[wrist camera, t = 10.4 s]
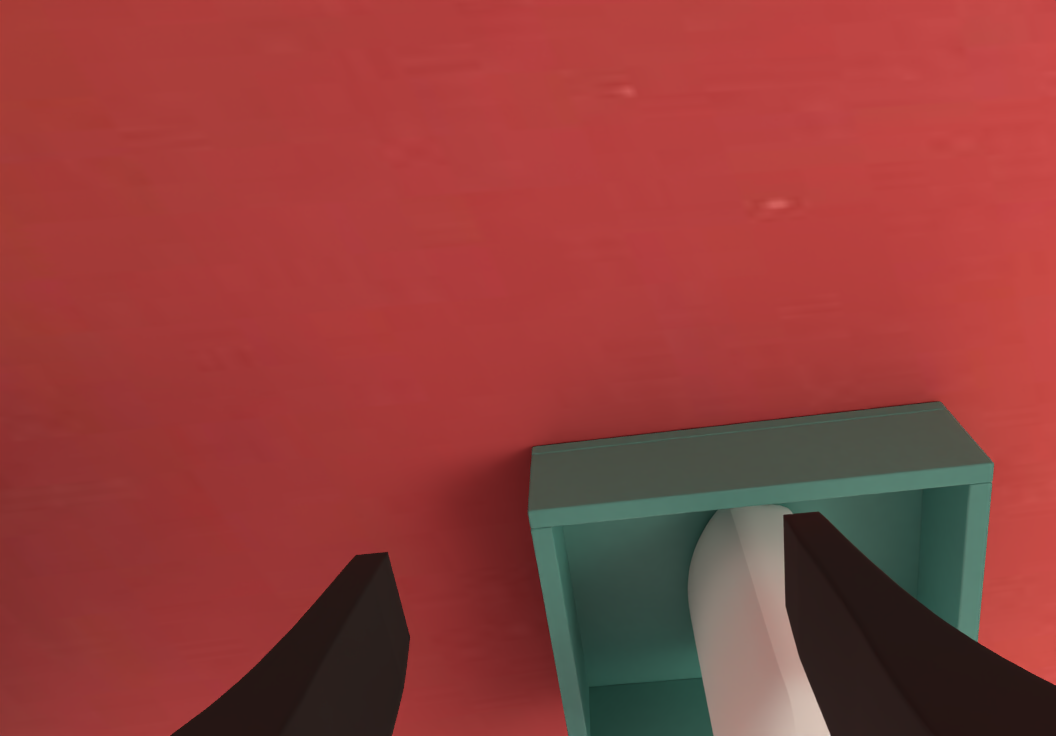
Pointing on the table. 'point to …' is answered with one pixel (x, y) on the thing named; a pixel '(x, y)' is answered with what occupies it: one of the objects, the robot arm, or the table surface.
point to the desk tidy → (721, 483)
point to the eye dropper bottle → (748, 628)
